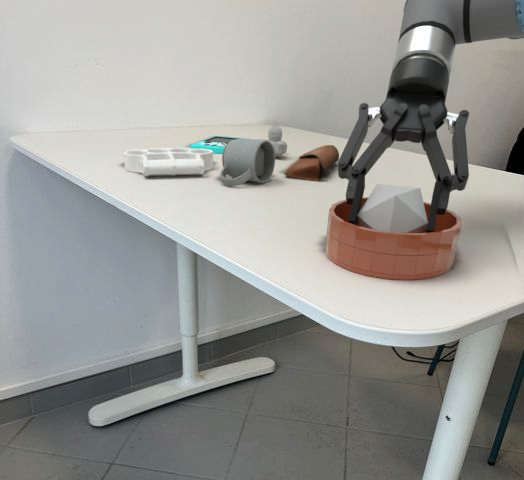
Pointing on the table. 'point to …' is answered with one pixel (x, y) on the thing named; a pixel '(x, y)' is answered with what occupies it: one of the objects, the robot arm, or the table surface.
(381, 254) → the bowl
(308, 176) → the sunglasses case
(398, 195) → the die
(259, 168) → the ceramic mug
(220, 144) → the handheld game console
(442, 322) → the table surface
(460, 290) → the table surface
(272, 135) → the grey rounded figure
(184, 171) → the white compartment tray
